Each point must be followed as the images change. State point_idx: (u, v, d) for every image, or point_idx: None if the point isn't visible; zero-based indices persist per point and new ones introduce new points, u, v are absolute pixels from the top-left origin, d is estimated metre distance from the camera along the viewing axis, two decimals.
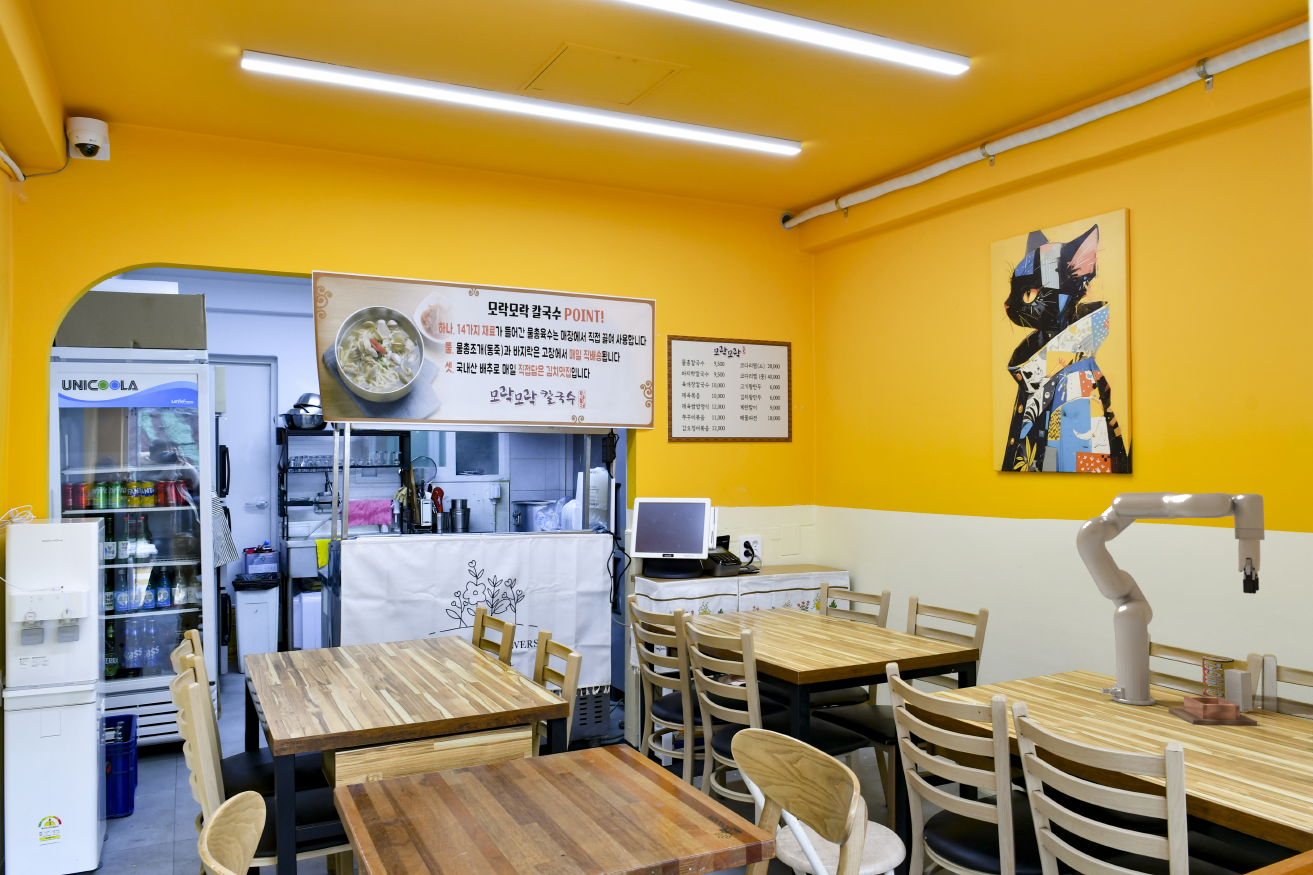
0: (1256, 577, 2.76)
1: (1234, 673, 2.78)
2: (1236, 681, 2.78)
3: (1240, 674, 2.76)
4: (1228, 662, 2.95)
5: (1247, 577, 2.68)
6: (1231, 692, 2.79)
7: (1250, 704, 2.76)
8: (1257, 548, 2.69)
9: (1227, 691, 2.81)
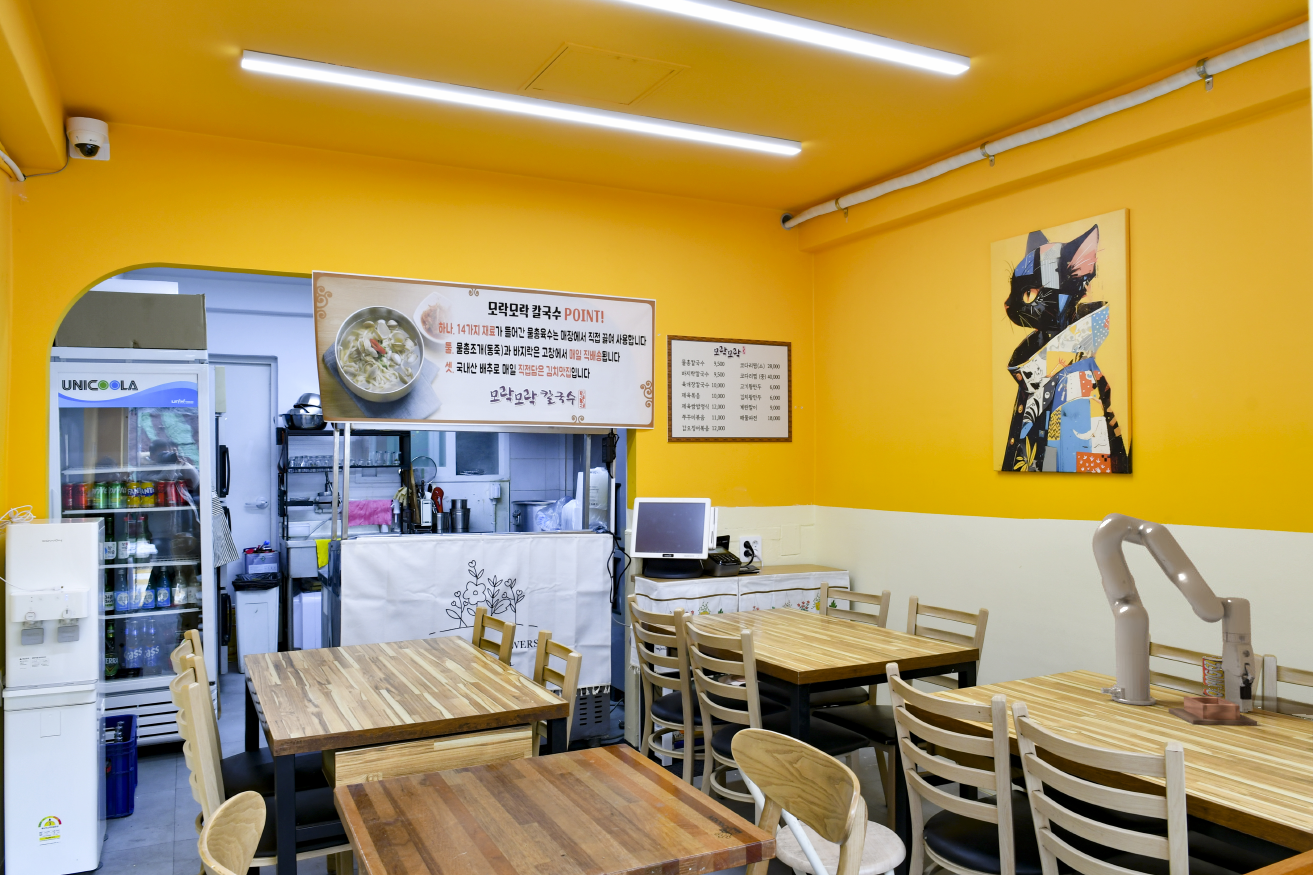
0: None
1: None
2: (1236, 681, 2.78)
3: None
4: None
5: None
6: (1231, 692, 2.79)
7: (1250, 704, 2.77)
8: (1223, 648, 2.83)
9: (1227, 690, 2.81)
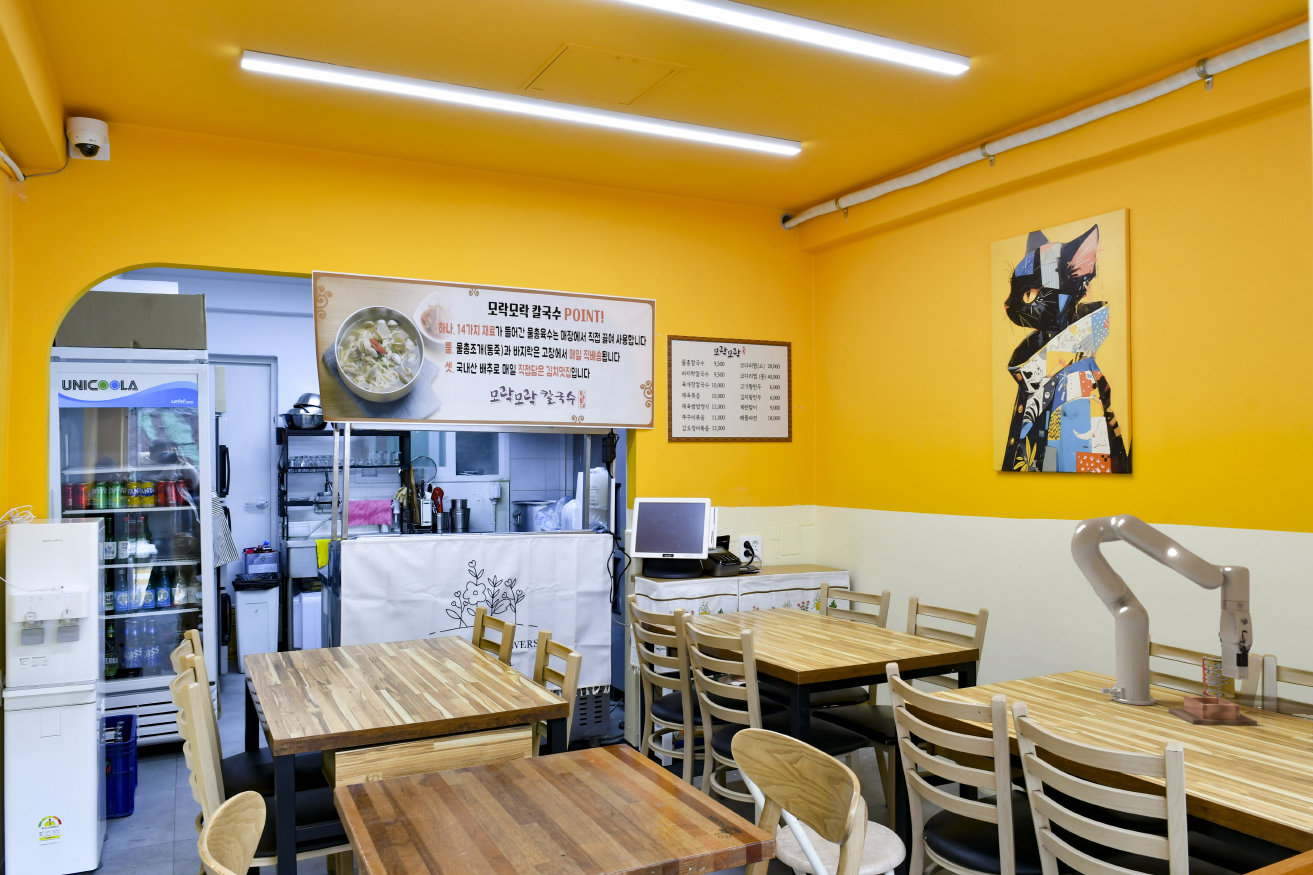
0: None
1: None
2: (1233, 648, 2.78)
3: None
4: None
5: None
6: (1228, 659, 2.80)
7: (1246, 671, 2.77)
8: (1221, 616, 2.84)
9: (1223, 658, 2.81)
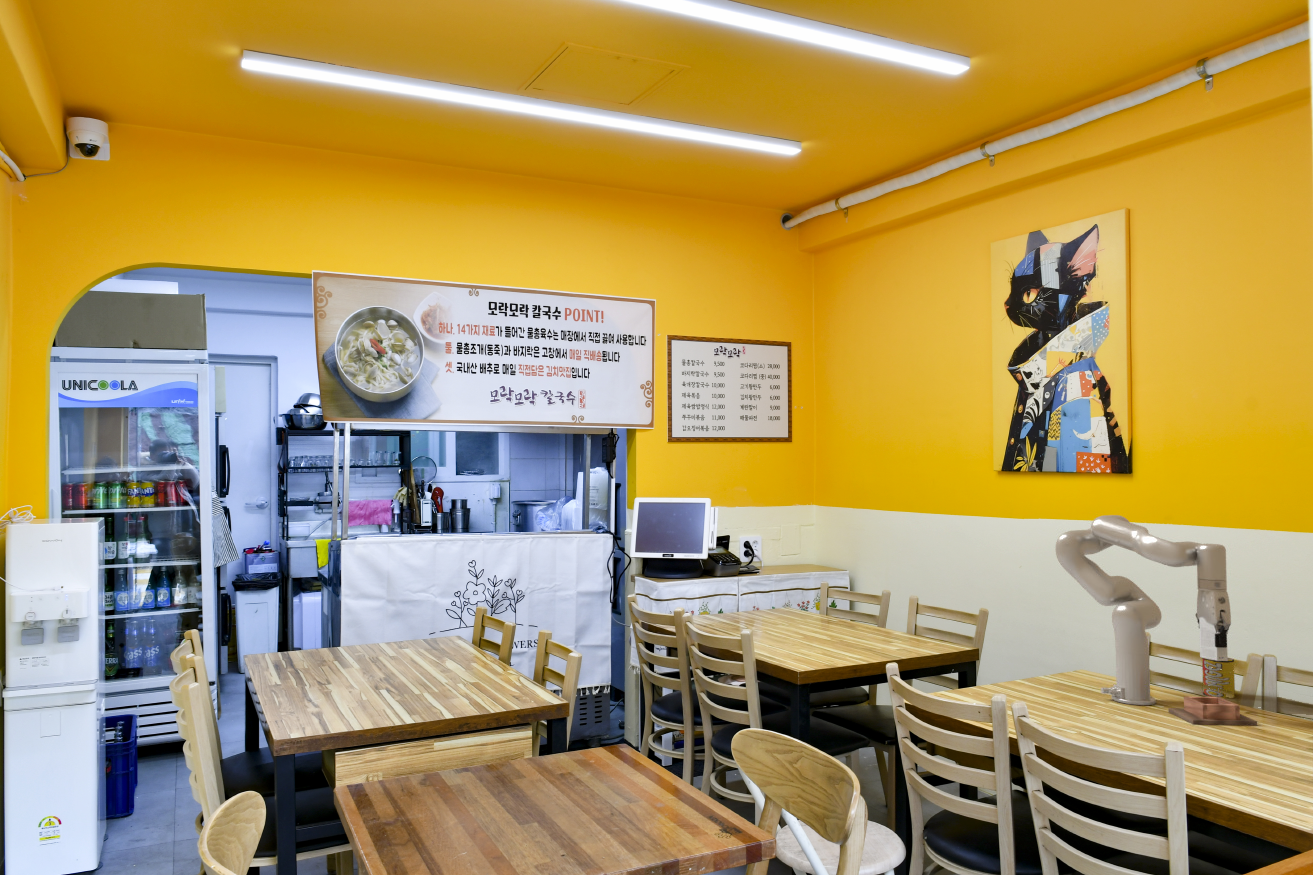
0: None
1: None
2: (1211, 629, 2.70)
3: None
4: (1228, 662, 2.95)
5: None
6: (1206, 640, 2.71)
7: (1225, 652, 2.69)
8: (1198, 596, 2.75)
9: (1201, 639, 2.73)
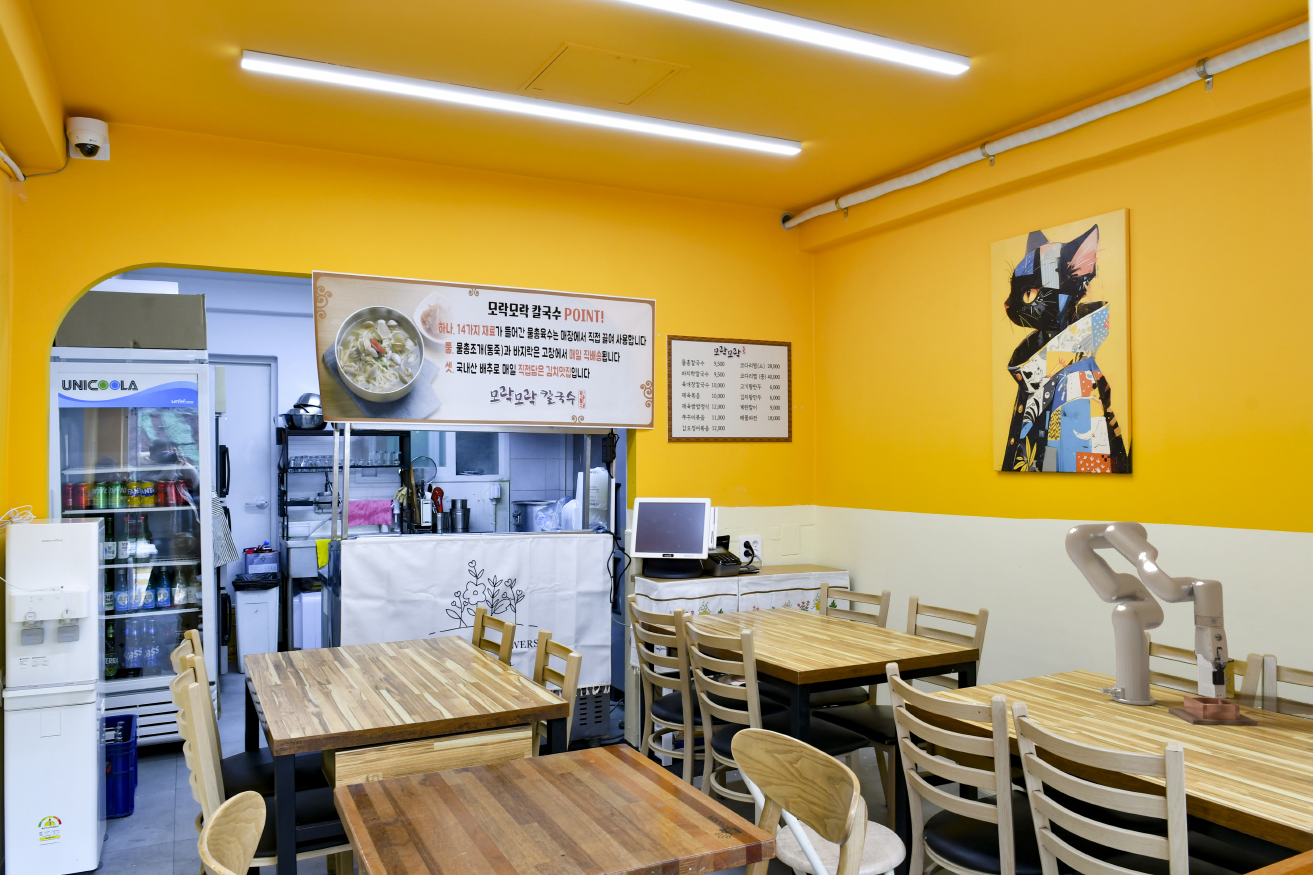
0: None
1: None
2: (1209, 666, 2.68)
3: None
4: (1228, 662, 2.95)
5: None
6: (1204, 678, 2.69)
7: (1223, 690, 2.66)
8: (1195, 632, 2.73)
9: (1199, 676, 2.71)
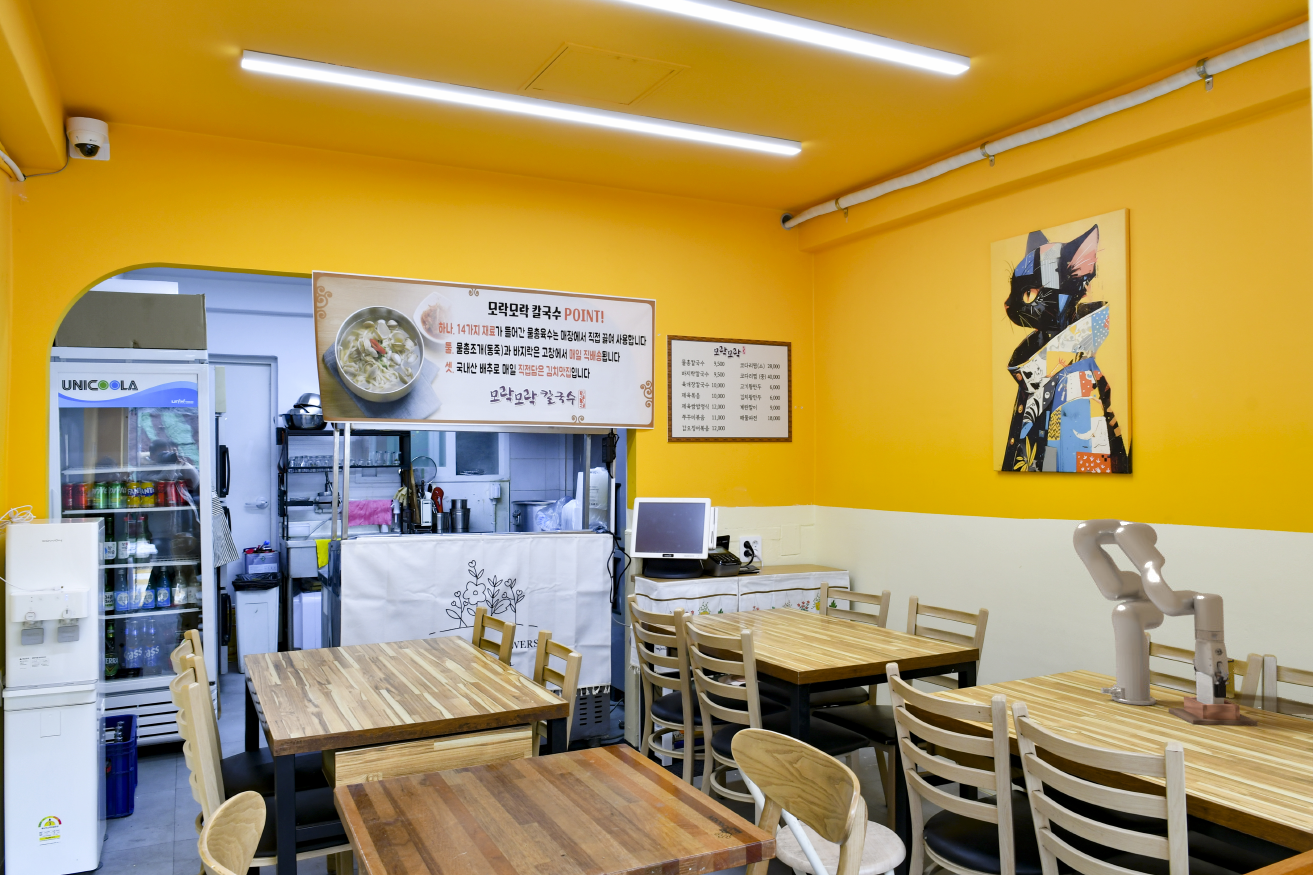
0: None
1: (1205, 676, 2.69)
2: (1207, 684, 2.68)
3: (1211, 677, 2.67)
4: (1228, 662, 2.95)
5: None
6: (1203, 695, 2.69)
7: None
8: (1195, 646, 2.73)
9: (1198, 694, 2.71)
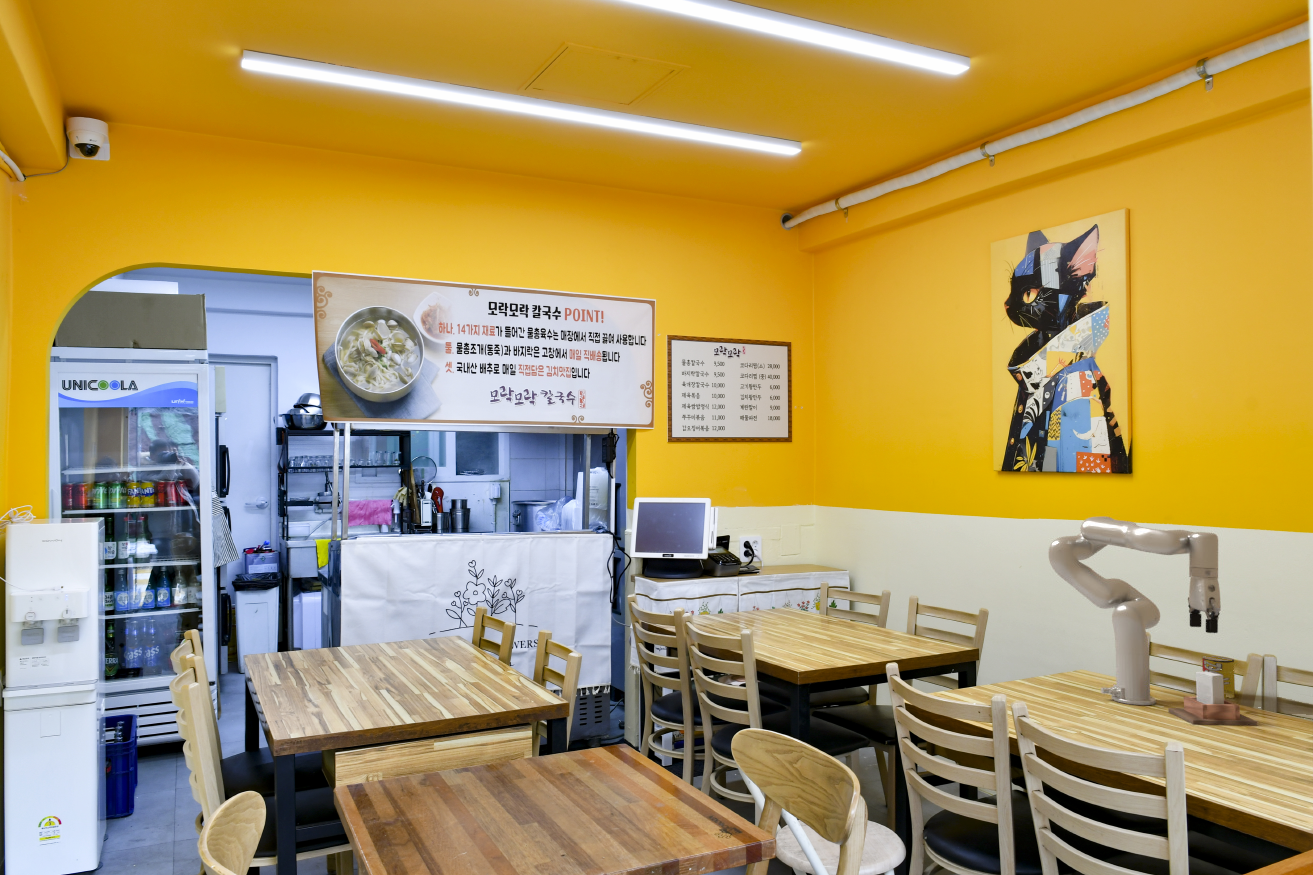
0: None
1: (1205, 676, 2.69)
2: (1207, 684, 2.68)
3: (1211, 677, 2.67)
4: (1228, 662, 2.95)
5: None
6: (1203, 695, 2.69)
7: None
8: (1190, 584, 2.79)
9: (1198, 694, 2.71)
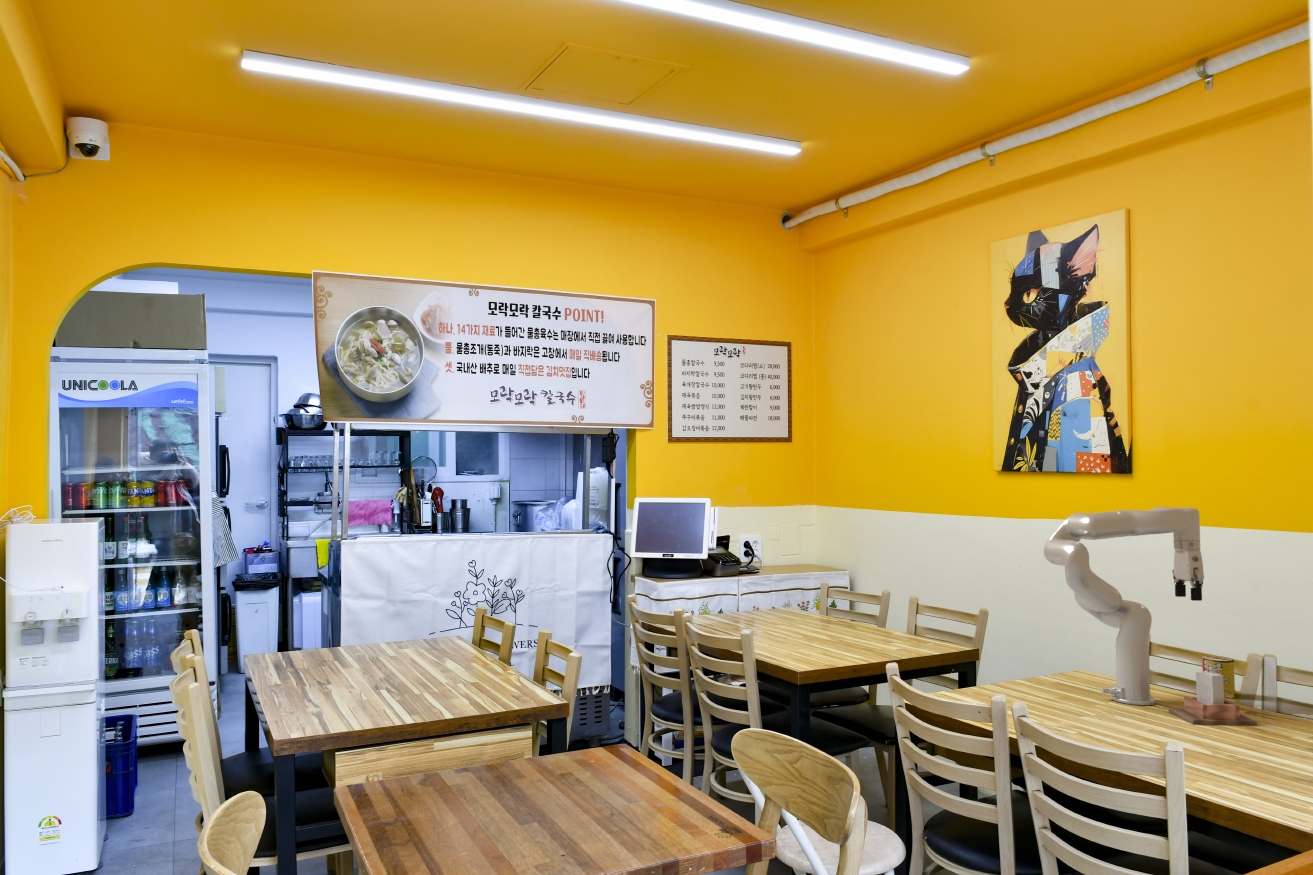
0: None
1: (1205, 676, 2.69)
2: (1207, 684, 2.68)
3: (1211, 677, 2.67)
4: (1228, 662, 2.95)
5: None
6: (1203, 695, 2.69)
7: None
8: (1174, 556, 2.99)
9: (1198, 694, 2.71)
